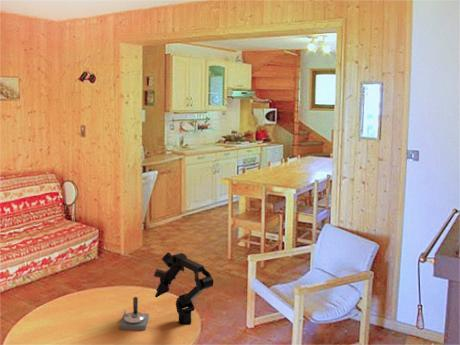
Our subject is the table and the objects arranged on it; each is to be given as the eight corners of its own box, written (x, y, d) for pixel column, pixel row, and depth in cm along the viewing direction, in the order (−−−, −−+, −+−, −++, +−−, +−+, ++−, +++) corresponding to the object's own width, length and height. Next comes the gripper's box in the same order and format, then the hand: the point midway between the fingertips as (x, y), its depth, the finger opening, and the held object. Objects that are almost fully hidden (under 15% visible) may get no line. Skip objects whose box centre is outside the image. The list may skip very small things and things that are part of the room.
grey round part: (146, 312, 283) (146, 295, 281) (143, 323, 270) (143, 305, 268) (126, 312, 282) (126, 295, 280) (122, 323, 270) (122, 305, 268)
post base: (148, 317, 283) (148, 307, 282) (145, 329, 269) (145, 318, 268) (123, 317, 282) (123, 307, 281) (119, 329, 268) (119, 318, 267)
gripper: (162, 259, 291) (146, 280, 291) (159, 269, 272) (142, 291, 273) (177, 270, 292) (161, 291, 293) (176, 280, 273) (159, 303, 274)
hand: (156, 293), depth 283 cm, fingers open, 9 cm apart
